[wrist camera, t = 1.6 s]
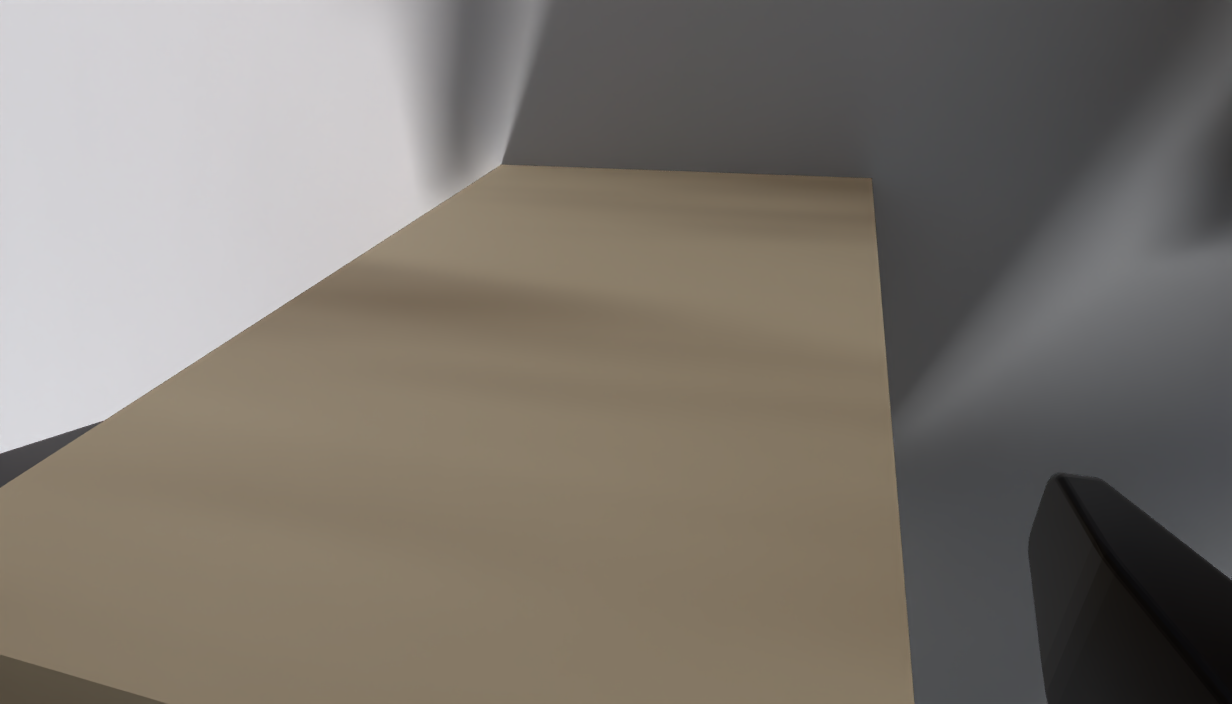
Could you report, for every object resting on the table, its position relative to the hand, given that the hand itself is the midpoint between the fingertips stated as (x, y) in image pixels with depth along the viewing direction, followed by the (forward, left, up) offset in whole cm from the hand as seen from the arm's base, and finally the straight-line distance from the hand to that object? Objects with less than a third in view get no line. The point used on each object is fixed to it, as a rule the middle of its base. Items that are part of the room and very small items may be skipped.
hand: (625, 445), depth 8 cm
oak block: (0, 0, -3) cm, 3 cm away
